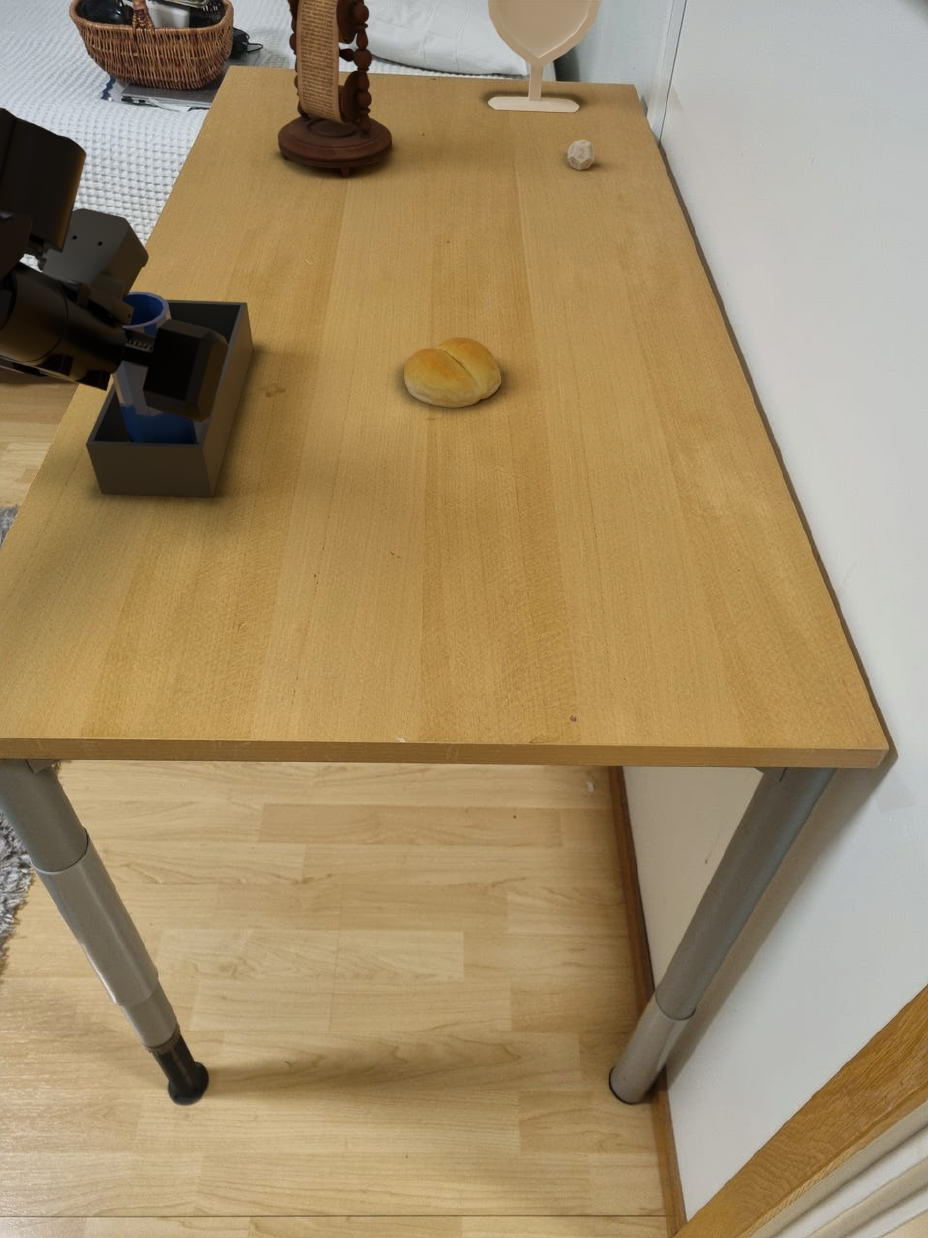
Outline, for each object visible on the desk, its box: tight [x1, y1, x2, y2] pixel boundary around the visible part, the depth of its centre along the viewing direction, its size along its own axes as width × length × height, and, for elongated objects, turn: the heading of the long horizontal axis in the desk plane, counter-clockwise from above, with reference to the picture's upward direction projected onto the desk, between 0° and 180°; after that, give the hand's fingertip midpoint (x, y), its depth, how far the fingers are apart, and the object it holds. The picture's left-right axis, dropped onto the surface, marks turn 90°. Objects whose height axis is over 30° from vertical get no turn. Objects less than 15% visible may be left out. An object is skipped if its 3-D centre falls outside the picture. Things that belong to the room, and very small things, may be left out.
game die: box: [567, 139, 596, 171], centre depth 123 cm, size 4×4×3 cm
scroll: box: [277, 0, 393, 178], centre depth 115 cm, size 15×15×20 cm
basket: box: [85, 298, 255, 498], centre depth 82 cm, size 22×9×6 cm, turn 0°
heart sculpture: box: [487, 0, 602, 113], centre depth 131 cm, size 16×5×18 cm, turn 91°
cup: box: [111, 290, 198, 445], centre depth 74 cm, size 5×5×14 cm
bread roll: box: [403, 336, 502, 409], centre depth 87 cm, size 8×9×4 cm
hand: (160, 376), depth 74 cm, fingers open, 9 cm apart
